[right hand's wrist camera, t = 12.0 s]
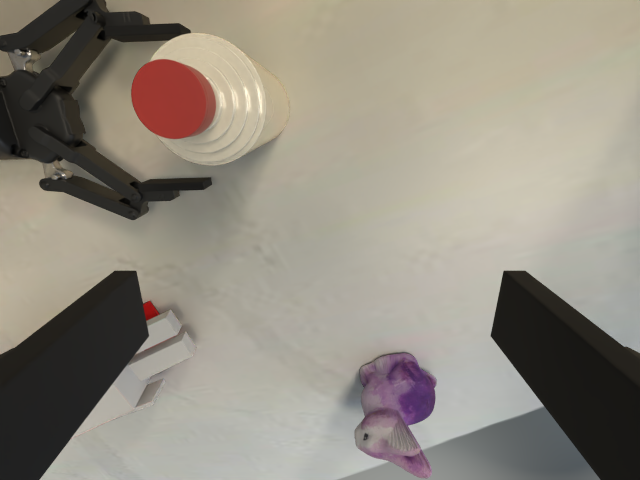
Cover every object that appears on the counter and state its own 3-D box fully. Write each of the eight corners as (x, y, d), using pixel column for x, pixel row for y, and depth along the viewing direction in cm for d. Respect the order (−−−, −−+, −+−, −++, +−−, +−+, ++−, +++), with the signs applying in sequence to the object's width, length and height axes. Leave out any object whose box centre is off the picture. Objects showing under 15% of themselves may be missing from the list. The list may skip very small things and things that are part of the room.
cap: (139, 68, 19) (120, 64, 17) (207, 59, 18) (195, 53, 17) (158, 140, 20) (143, 143, 18) (223, 132, 20) (213, 134, 18)
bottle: (210, 72, 38) (67, 22, 17) (283, 62, 37) (232, -3, 16) (226, 148, 41) (121, 187, 19) (294, 139, 40) (263, 169, 19)
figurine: (342, 381, 52) (350, 481, 38) (390, 336, 49) (417, 427, 35) (389, 412, 54) (412, 518, 40) (436, 371, 51) (480, 469, 37)
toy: (196, 397, 41) (-29, 503, 42) (215, 335, 54) (43, 417, 54) (137, 316, 37) (-110, 433, 38) (172, 270, 50) (-12, 358, 51)
